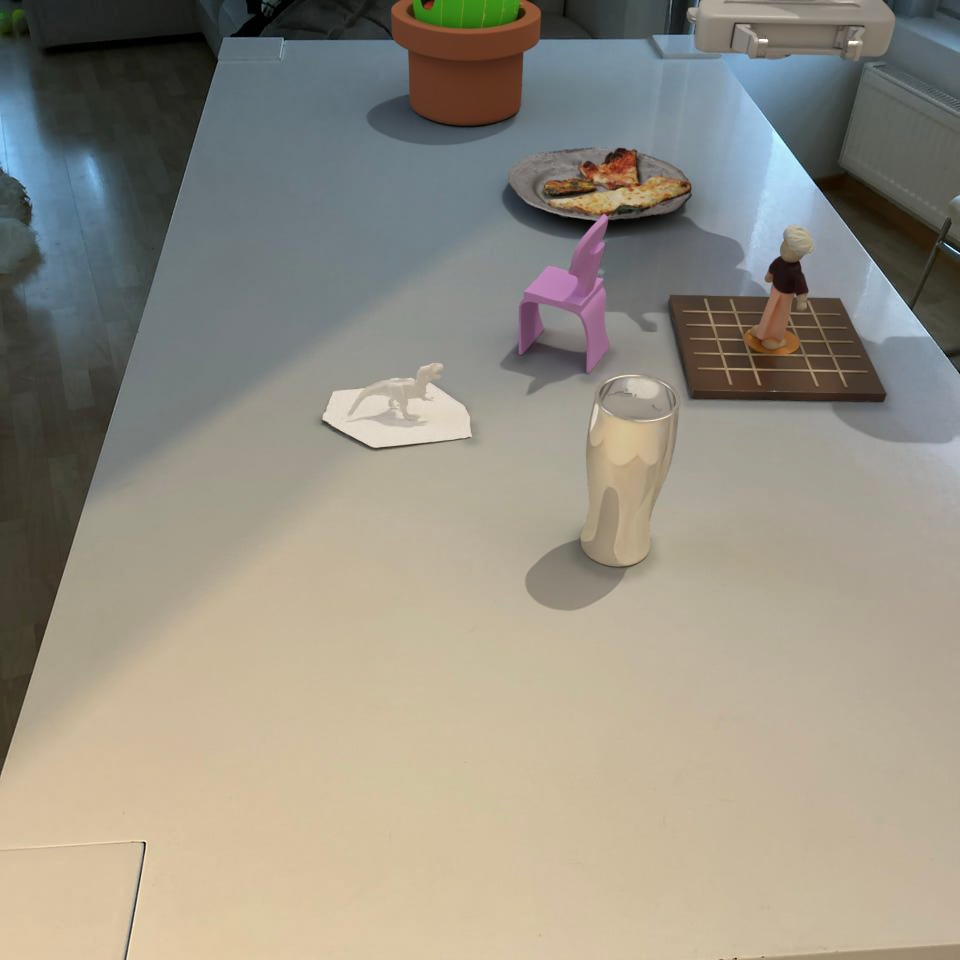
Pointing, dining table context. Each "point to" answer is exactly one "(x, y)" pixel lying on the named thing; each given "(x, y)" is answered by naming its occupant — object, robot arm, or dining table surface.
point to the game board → (772, 351)
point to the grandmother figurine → (784, 287)
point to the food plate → (600, 183)
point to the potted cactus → (465, 56)
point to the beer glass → (627, 464)
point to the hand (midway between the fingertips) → (806, 51)
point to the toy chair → (571, 295)
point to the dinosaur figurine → (399, 411)
